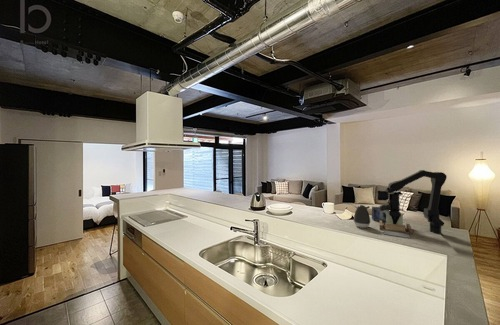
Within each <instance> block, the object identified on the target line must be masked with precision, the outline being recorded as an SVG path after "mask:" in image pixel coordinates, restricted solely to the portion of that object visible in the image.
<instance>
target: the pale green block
mask: <svg viewBox="0 0 500 325" xmlns="http://www.w3.org/2000/svg"><path fill="white" fill-rule="evenodd" d="M403 217H404V215H403V213H401V217H399V219H398V221H397V223H396V224H397V225H404V223H403V222H404V220H403V219H404V218H403ZM385 223H389V224H393V220H392V217H391V216H390V215H389V213H388V212H386V222H385Z"/></svg>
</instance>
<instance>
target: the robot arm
mask: <svg viewBox="0 0 500 325" xmlns="http://www.w3.org/2000/svg"><path fill="white" fill-rule="evenodd" d="M421 178H429V179H430V182H431V189H430V190H431V192H430V194H429V195H430V196H429V201H428V202H429V203H428V206H427V208H423V213H422V214H423V217H424V218H425V219H426V220H427V222H428V223H429V232H430V233H433V234H435V235H436V234H438V235H440V236H444V234H443V232H442V227H443V226H444V225H445V222H444V221H443V220H442V219H440V211H439V203H440V198H441V192H442V187H443V185H444V184H445V182H446V181H447V174H445V173H444V172H441V171H440V172H439V171H433V172H432V171H428V170H424V169H423V170H422V169H420V170H418V171H417V172H415V173H413V174H411V175H408V176H406V177H404V178H402V179H398V180H396V181H392V182H390V183H388V186H387V187H386V188H385V190H376V194H375V197H376V200H377V201H384V202H385V201H387V200H388V202H387V203H385V204H380V205H379V207H380V209H381V211H384V210H388V211H389V215H390V216H391V217H392V220H393V224H396V223H397V221H398V219H399V217H401V214H402V213H401V212H400V211H401V210H400V196H403V195H404V194H403V193H402V192H401V191H400V190H402V189H403V188H404V187H405V186H407V185H409V184H411V183H413V182H415V181H417V180H419V179H421Z"/></svg>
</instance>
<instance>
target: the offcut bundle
mask: <svg viewBox="0 0 500 325" xmlns="http://www.w3.org/2000/svg"><path fill="white" fill-rule="evenodd" d="M384 224H385V228H384V229H389V230H397V231H404V232H406V231H405V228H406V225H404V224H403V225H397V224H389V223H386V222H384Z"/></svg>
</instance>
